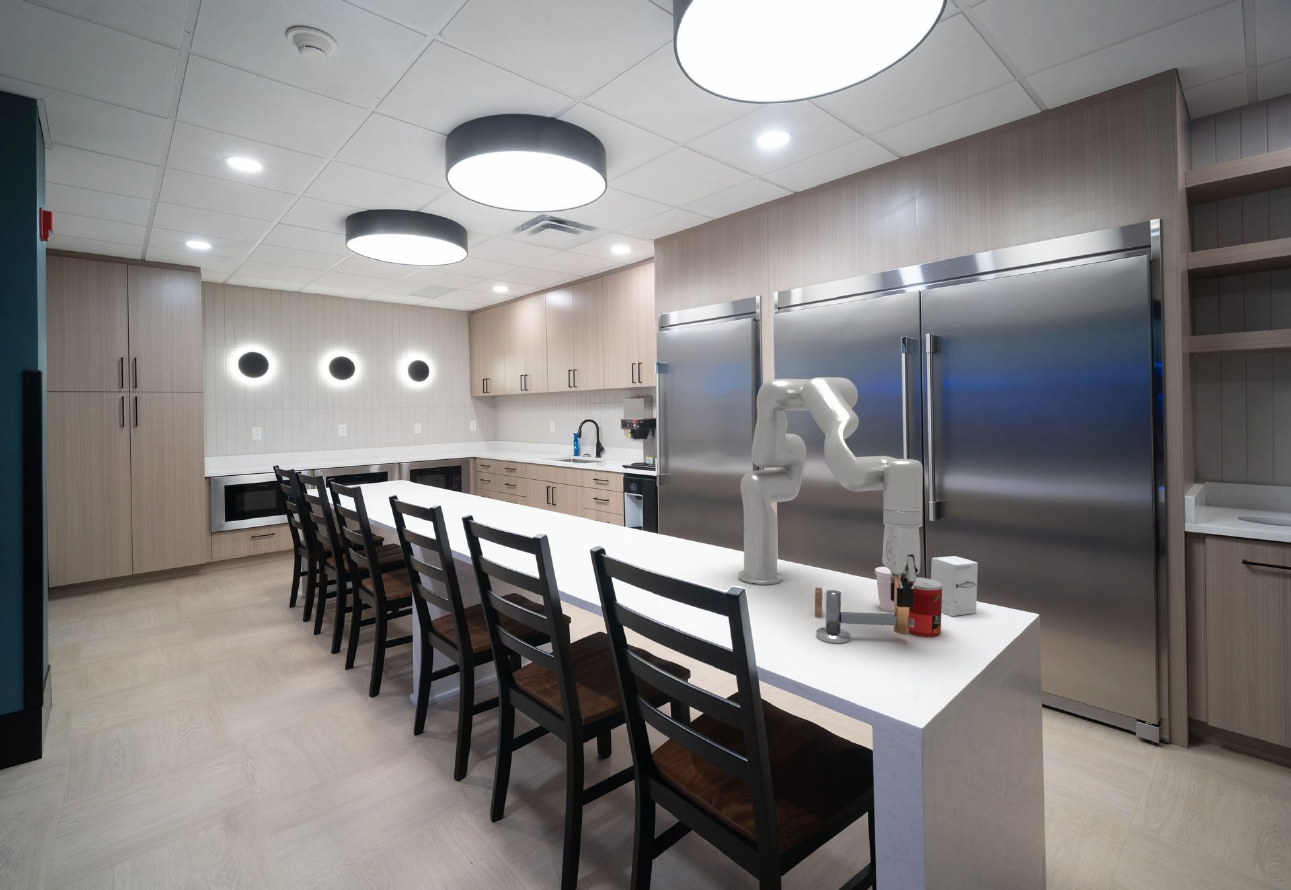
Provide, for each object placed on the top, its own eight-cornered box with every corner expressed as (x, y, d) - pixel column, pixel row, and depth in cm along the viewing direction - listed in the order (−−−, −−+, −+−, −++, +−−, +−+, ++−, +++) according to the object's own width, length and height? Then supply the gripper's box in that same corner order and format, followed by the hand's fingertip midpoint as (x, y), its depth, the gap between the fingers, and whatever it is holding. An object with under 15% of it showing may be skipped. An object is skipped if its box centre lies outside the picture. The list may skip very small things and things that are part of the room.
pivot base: (816, 630, 133) (816, 625, 133) (849, 633, 131) (849, 629, 131) (815, 641, 126) (815, 637, 126) (850, 645, 124) (850, 641, 124)
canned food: (941, 639, 127) (942, 589, 126) (900, 633, 130) (901, 584, 130) (940, 627, 134) (941, 579, 133) (902, 622, 137) (903, 575, 136)
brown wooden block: (815, 611, 145) (815, 587, 144) (822, 612, 144) (822, 587, 144) (814, 616, 141) (815, 592, 141) (821, 617, 140) (822, 592, 140)
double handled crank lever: (906, 632, 127) (907, 574, 127) (910, 637, 125) (912, 578, 124) (824, 628, 130) (825, 571, 129) (827, 634, 127) (827, 575, 126)
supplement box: (952, 617, 140) (953, 564, 139) (929, 607, 147) (930, 557, 146) (977, 614, 142) (978, 562, 141) (953, 604, 149) (954, 554, 149)
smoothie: (907, 611, 145) (909, 554, 144) (887, 614, 142) (888, 557, 141) (888, 603, 151) (889, 548, 150) (868, 606, 148) (869, 551, 147)
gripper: (872, 511, 133) (872, 592, 134) (897, 525, 117) (896, 616, 118) (907, 511, 133) (906, 592, 134) (936, 525, 116) (935, 617, 117)
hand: (901, 603), depth 126 cm, fingers closed on double handled crank lever, 3 cm apart
